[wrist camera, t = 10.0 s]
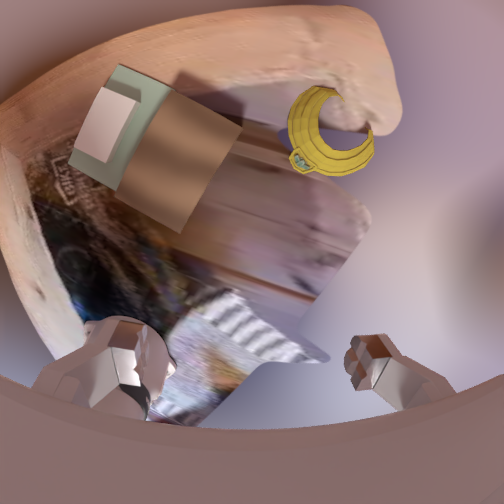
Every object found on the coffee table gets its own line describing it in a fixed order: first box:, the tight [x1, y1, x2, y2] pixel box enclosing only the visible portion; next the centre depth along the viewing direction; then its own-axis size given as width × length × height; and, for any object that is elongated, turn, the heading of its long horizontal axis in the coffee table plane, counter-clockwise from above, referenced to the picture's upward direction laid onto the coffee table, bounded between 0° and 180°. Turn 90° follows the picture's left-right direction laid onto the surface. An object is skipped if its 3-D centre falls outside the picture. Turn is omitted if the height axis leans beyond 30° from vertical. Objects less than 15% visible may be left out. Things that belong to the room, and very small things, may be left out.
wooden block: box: [114, 89, 243, 234], centre depth 33 cm, size 15×10×4 cm, turn 148°
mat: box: [68, 65, 176, 191], centre depth 31 cm, size 16×10×1 cm, turn 148°
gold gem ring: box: [288, 86, 374, 176], centre depth 33 cm, size 13×13×4 cm
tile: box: [73, 87, 141, 163], centre depth 30 cm, size 9×6×2 cm, turn 149°
